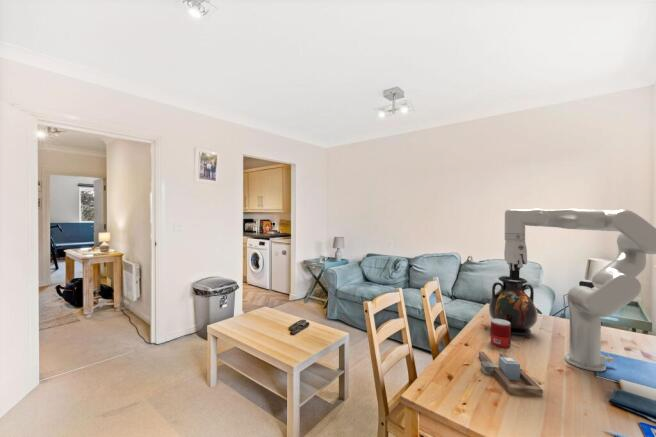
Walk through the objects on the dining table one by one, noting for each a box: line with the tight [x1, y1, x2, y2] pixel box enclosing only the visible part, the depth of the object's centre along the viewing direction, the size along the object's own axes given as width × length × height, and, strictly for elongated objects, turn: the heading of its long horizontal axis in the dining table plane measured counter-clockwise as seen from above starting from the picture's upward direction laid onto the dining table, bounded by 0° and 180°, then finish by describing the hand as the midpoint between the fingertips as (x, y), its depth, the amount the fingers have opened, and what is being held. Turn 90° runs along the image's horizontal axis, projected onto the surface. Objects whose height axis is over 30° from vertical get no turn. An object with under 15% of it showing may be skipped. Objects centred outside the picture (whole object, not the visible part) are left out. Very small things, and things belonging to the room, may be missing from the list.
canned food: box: [490, 319, 512, 349], centre depth 132 cm, size 8×8×11 cm
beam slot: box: [478, 350, 544, 398], centre depth 107 cm, size 13×26×3 cm, turn 173°
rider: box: [498, 356, 521, 382], centre depth 105 cm, size 5×5×6 cm
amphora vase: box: [488, 275, 538, 338], centre depth 148 cm, size 22×22×28 cm
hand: (514, 279), depth 122 cm, fingers closed
